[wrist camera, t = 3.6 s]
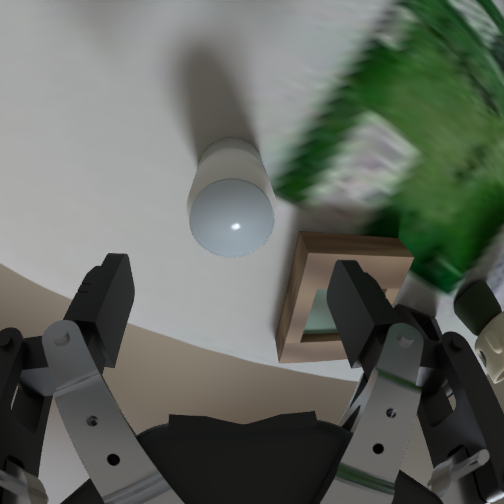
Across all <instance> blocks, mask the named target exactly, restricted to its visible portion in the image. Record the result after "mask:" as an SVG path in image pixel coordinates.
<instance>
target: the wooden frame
mask: <svg viewBox="0 0 504 504" xmlns="http://www.w3.org/2000/svg"><path fill="white" fill-rule="evenodd" d="M413 259H414V257H413V255H412V254H411V253H410V252H409V250H408V249H407V248H406V247H405V246H404V244H403V243H402V242H401V241H400V240H399V238H389V237H376V236H362V235H348V234H333V233H317V232H301V231H300V232H299V237H298V242H297V247H296V252H295V256H294V261H293V266H292V270H291V275H290V280H289V284H288V289H287V293H286V298H285V302H284V306H283V311H282V315H281V319H280V323H279V328H278V332H277V336H276V340H275V341H276V347H277V353H278V360H279V363H299V362H317V361H330V360H342V359H348V358H347V355H346V352H345V350H344V347H343V344H342V341H341V339H340V336H339V333H338V331H337V328H336V326H335V323H334V320H333V318H332V315H331V313H330V310H329V307H328V305H327V298H326V296H327V289H328V286H329V282H330V279H331V276H332V272H333V269H334V265H335V263H336V261H337V260H356V261H357V262H358V263H359V265H360V267H361V268H362V270H363V272H367V273H368V274H369V275H371V276H372V277H373V278H374V279H375V280H376V281H377V282H378V284H379V286H380V287H381V289H382V291H383V292H384V294H385V295H386V298H387V299H388V300H389V302H390V304H391V306H392V304H393V302H394V300H395V298H396V296H397V294H398V292H399V290H400V288H401V286H402V284H403V281H404V279H405V277H406V275H407V273H408V270H409V268H410V266H411V264H412V261H413Z"/></svg>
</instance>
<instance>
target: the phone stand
mask: <svg viewBox="0 0 504 504" xmlns="http://www.w3.org/2000/svg"><path fill="white" fill-rule="evenodd" d="M394 311H395V312H396V314H397V316H398V318H399V319H400V321H401V323H405V324H408V325H411V326H413V327H414V328H415V329H417V330H418V331H419V332H420V334H421V336H422V338H423V339H429V340H435V341H439V340H440V339H441V337H442V336H443V335H442V332H441V330H440V327H439V325H438V323H437V320H436V319H435V318H434V317H431V316H429V315H426V314H423V313H421V312H418V311H416V310H413V309H410V308H408V307H405V306H403V305H400V304H399V305H398V306H397V307H396V308H395V309H394ZM443 388H444V390H445V393H446V395H447V397H448V398H449V397H450V396H451V395H453V392H452V389H451V387H450V385H449V383H448V382H447V383H446V384H445V385H444V386H443ZM416 416H417V417H418V415H417V414H416Z"/></svg>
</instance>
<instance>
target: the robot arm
mask: <svg viewBox="0 0 504 504" xmlns="http://www.w3.org/2000/svg"><path fill="white" fill-rule="evenodd" d="M134 295H135V289H134V282H133V277H132V272H131V267H130V261H129V257H128V255H127V254H117V253H108V254H107V256H106V258H105V259H104V261H103V263H102V265H101V266H95V267H94V268H93V269H92V270H90V271H89V272H88V273H87V274H86V276H85V278H84V280H83V281H82V285H80V287H79V289H78V293H76V295H75V297H74V298H73V300H72V302H71V305H70V306H69V308H68V311H67V313H66V314H65V317H64V319H63V320H60V321H57V322H55V323H53V324H51V325H50V326H49V327H48V328H47V329H46V330H45V331H44V333H43V336H38V337H30V338H24V337H23V336H22V334H21V332H20V331H19V330H18V329H16V328H5V329H3V330H1V331H0V504H47V503H48V496H47V494H46V491H45V488H44V486H43V484H42V482H41V481H40V480H39V479H38V475H39V466H40V459H41V452H42V446H43V440H44V435H45V430H46V425H47V420H48V415H49V411H50V406H51V402H52V398H53V395H54V399H55V402H56V405H57V407H58V409H59V413H60V415H61V418H62V420H63V423H64V425H65V427H66V430H67V432H68V434H69V437H70V439H71V441H72V443H73V445H74V447H75V450H76V451H77V454H78V456H79V458H80V459H81V462H82V463H83V465H84V467H85V469H86V471H87V473H88V475H89V477H90V478H89V479H88V480H87V481H86V482H85V483H84V484H83V485H81V486H80V487H79V488H78V489H77V490H76V491H74V492H73V493H72V494H71V495H70V496H69V497H68V498H66V499H65V500H64V501H63V502H62V503H60V504H490V503H493V502H495V501H497V500H499V499H501V498H504V414H503V411H502V409H501V407H500V404H499V402H498V400H497V398H496V396H495V394H494V391H493V389H492V387H491V385H490V383H489V381H488V379H487V377H486V375H485V373H484V371H483V369H482V367H481V365H480V363H479V362H478V360H477V358H476V356H475V354H474V352H473V351H472V349H471V347H470V345H469V344H468V342H467V341H466V339H465V338H464V337H463V336H461V335H460V334H458V333H456V332H451V331H450V332H446V333H444V334H443V336H442V337H441V339H440V340H439V341H435V340H429V339H423V338H422V336H421V334H420V332H419V331H418V330H417V329H415V328H414V327H413V326H411V325H408V324H405V323H401V321H400V319H399V318H398V316H397V314H396V312H395V311H394V309H393V307H392V306H391V304H390V302H389V300H388V299H387V298H386V295H385V294H384V292H383V291H382V289H381V287H380V286H379V284H378V282H377V281H376V280H375V279H374V278H373V277H372V276H371V275H369V274H368V273H367V272H363V270H362V268H361V267H360V265H359V263H358V262H357V261H356V260H337V261H336V263H335V265H334V269H333V272H332V276H331V279H330V282H329V286H328V289H327V296H326V298H327V305H328V307H329V310H330V313H331V315H332V318H333V320H334V323H335V326H336V328H337V331H338V333H339V336H340V339H341V341H342V344H343V347H344V350H345V352H346V355H347V358H348V361H349V363H350V366H351V369H352V368H359V367H362V368H363V371H364V372H363V374H362V376H361V378H360V380H359V382H358V385H357V387H356V389H355V392H354V394H353V396H352V399H351V401H350V403H349V405H348V407H347V409H346V411H345V413H344V415H343V417H342V418H341V420H340V421H339V423H338V425H335V424H332V423H329V422H325V421H321V420H317V418H316V414H315V411H311V412H303V413H293V414H292V413H291V414H281V415H277V416H274V417H271V418H267V419H264V420H260V421H257V422H253V423H249V424H237V423H232V422H228V421H223V420H219V419H215V418H211V417H206V416H187V415H186V416H185V415H169V423H167V424H162V425H158V426H154V427H152V428H149V429H147V430H145V431H143V432H141V433H140V434H138V435H137V434H136V433H135V431H134V430H133V428H132V427H131V425H130V423H129V422H128V420H127V419H126V417H125V415H124V414H123V412H122V410H121V409H120V407H119V405H118V404H117V402H116V400H115V398H114V397H113V395H112V393H111V391H110V389H109V387H108V385H107V384H106V382H105V380H104V378H103V376H102V374H103V370H104V367H110V368H115V364H116V360H117V356H118V353H119V349H120V345H121V342H122V338H123V334H124V331H125V328H126V324H127V321H128V318H129V314H130V311H131V308H132V305H133V302H134ZM447 382H448V383H449V385H450V387H451V389H452V392H453V394H454V396H455V399H456V408H455V410H454V411H453V410H452V407H451V405H450V402H449V400H448V397H447V395H446V393H445V390H444V388H443V386H444V385H445V384H446V383H447ZM17 386H18V390H17V394H16V397H15V400H14V403H13V407H12V410H11V403H12V399H13V396H14V393H15V390H16V387H17ZM416 414H417V415H418V418H419V421H420V424H421V427H422V431H423V434H424V437H425V440H426V443H427V447H428V450H429V453H430V457H431V460H432V464H433V468H434V470H433V472H432V476H431V479H430V480H429V481H428V483H427V488H426V487H424V486H423V485H422V484H420V483H419V482H417V481H416V480H414V479H413V478H411V477H410V476H408V475H407V474H405V473H404V472H403V471H401V470H400V466H401V463H402V460H403V458H404V455H405V452H406V449H407V446H408V442H409V439H410V435H411V432H412V429H413V425H414V421H415V417H416Z"/></svg>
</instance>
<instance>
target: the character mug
mask: <svg viewBox="0 0 504 504" xmlns="http://www.w3.org/2000/svg"><path fill="white" fill-rule="evenodd" d="M454 312H455V314H456V315H457V316H458V318H459V319H460V320H461V321H462V322H463V323H464V324H465V326H466V327H467V328H468V329H469V330H470V331H471V332H472V333H473V334H474V335H476V336H478V338H477V340H476V342H475V351H476V352H477V354H478V356H479V357H480V359H481V361H482V362H483V364H484V366H485V368H486V370H487V371H488V373H489V375H490V377H491V379H492V381H493V382H494V383H498V382H500V381H502V380H503V379H504V311H503V312H502V310H501V306H500V305H499V303H498V301H497V299H496V298H495V296H494V294H493V292H492V291H491V289H490V288H489V286H488V285H487V283H486V282H484V281H483V280H482V281H479V282H476V283H475V284H474V285H472V286H471V287H470V288H469V289H468V290H467V291H466V292H465V293H464V294H463V295H462V296H461V297H460V298H459V299H458V300H457V301H456V304H455V307H454Z"/></svg>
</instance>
